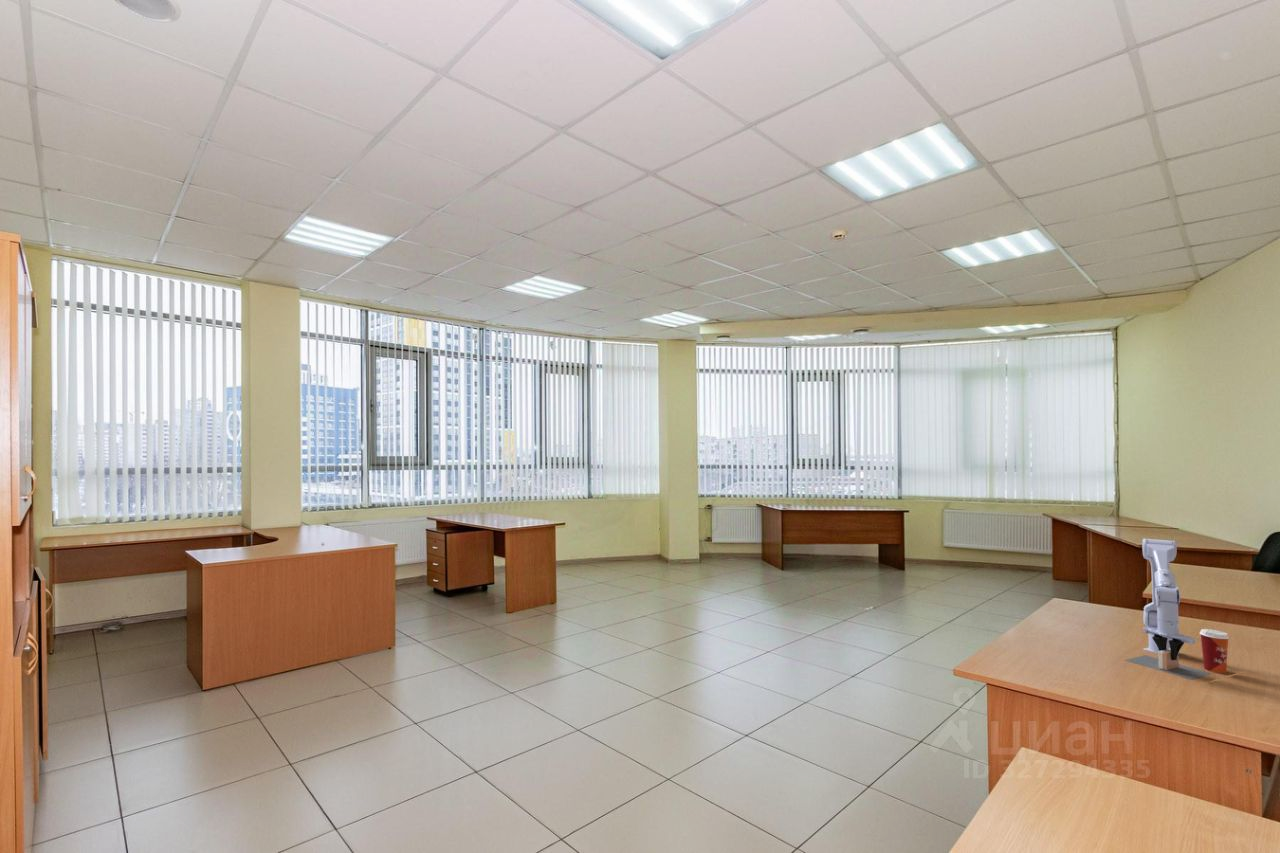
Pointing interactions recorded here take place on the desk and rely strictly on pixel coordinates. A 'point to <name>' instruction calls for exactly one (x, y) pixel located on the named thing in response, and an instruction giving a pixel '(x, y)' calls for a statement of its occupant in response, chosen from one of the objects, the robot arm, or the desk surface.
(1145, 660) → the mat
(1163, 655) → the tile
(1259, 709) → the desk surface
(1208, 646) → the paper cup
